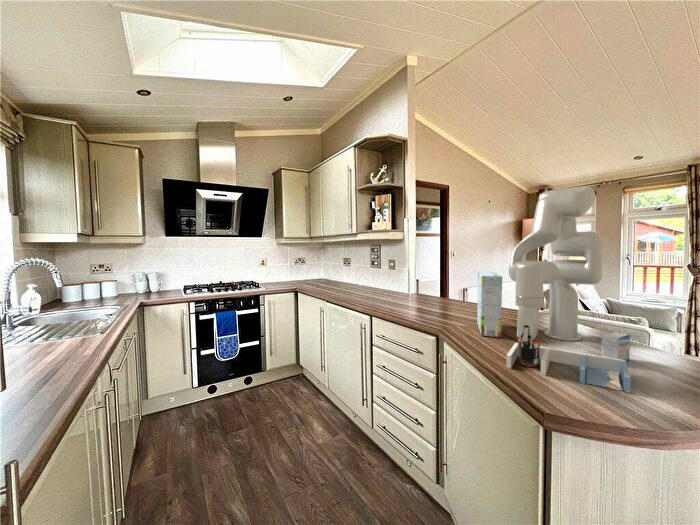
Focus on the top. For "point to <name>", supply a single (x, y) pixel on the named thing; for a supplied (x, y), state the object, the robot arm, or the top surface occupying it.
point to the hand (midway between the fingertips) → (528, 356)
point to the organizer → (593, 363)
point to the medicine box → (616, 345)
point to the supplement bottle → (535, 352)
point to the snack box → (489, 304)
